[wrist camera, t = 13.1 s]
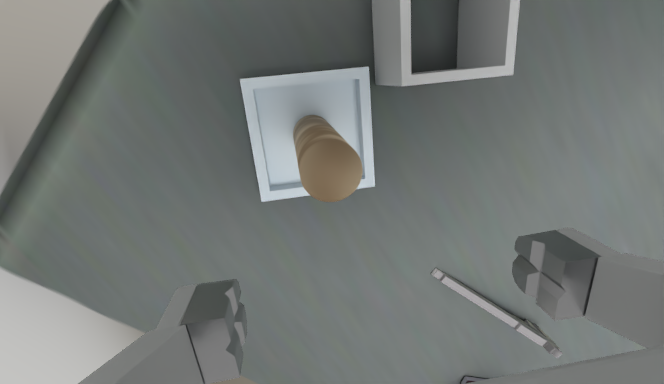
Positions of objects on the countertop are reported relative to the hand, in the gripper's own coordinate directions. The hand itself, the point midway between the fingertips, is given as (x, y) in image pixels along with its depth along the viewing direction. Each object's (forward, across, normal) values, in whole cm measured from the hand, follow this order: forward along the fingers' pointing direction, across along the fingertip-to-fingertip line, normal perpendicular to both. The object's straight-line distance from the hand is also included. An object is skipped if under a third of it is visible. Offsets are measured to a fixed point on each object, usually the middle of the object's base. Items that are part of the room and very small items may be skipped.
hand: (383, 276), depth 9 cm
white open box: (+27, -12, -9) cm, 30 cm away
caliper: (+27, -22, +26) cm, 43 cm away
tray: (+26, 0, 0) cm, 27 cm away
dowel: (+26, 0, 0) cm, 26 cm away
